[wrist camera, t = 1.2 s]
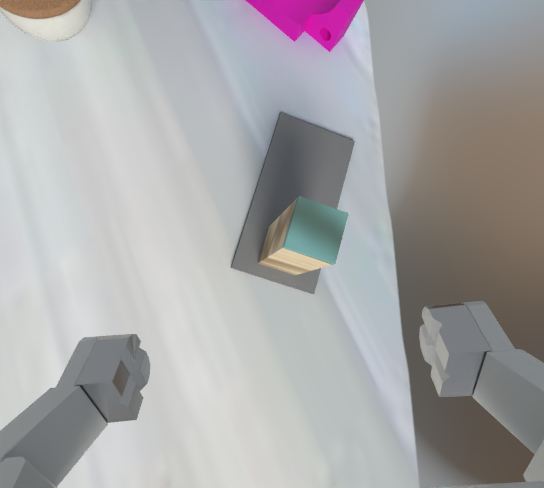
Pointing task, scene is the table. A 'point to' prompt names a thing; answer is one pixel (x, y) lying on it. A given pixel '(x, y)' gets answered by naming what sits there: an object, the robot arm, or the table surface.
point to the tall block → (304, 237)
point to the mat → (292, 190)
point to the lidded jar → (48, 17)
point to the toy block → (310, 17)
